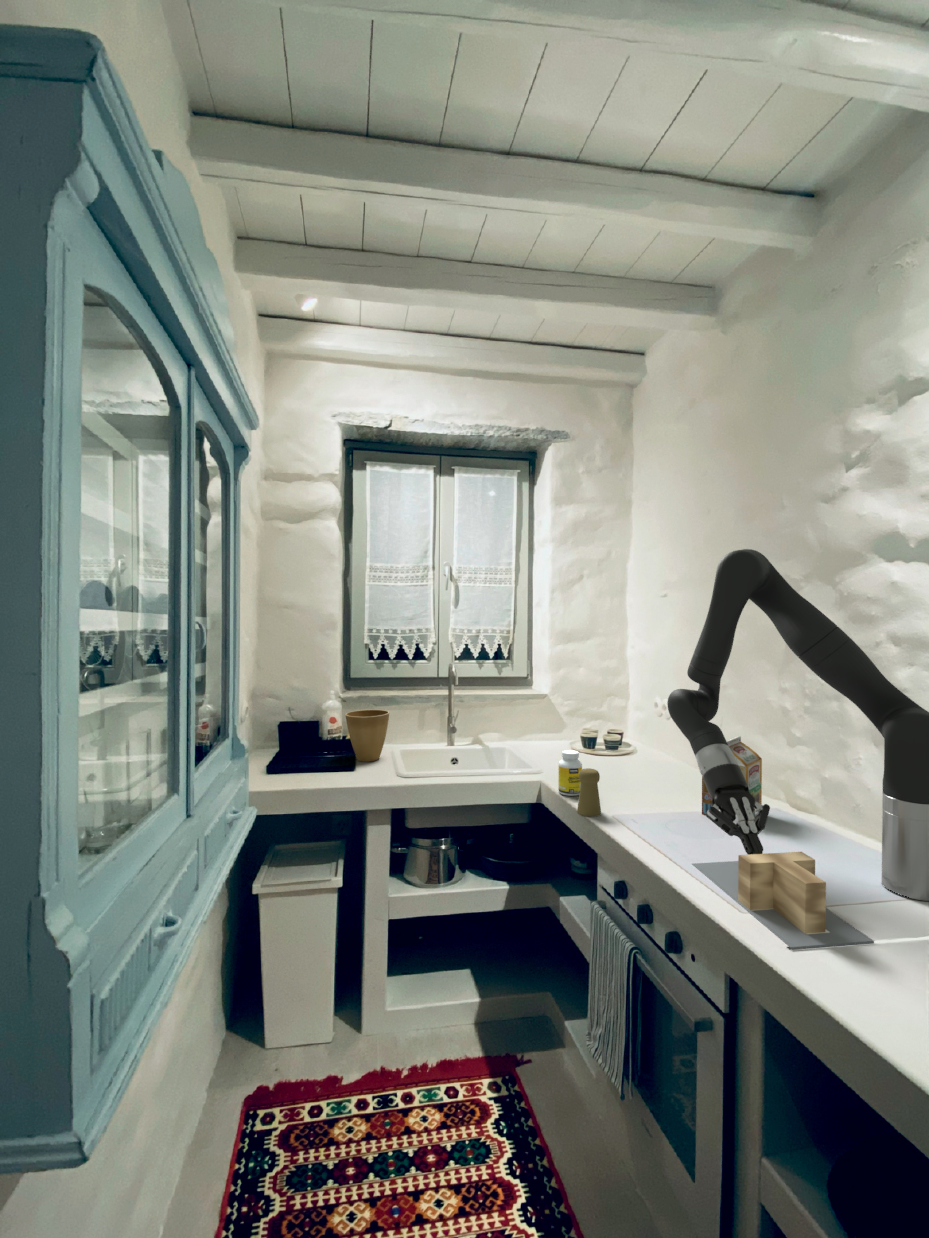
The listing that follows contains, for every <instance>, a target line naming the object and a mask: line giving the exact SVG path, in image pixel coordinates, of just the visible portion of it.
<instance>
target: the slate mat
mask: <svg viewBox="0 0 929 1238" xmlns="http://www.w3.org/2000/svg"><path fill="white" fill-rule="evenodd" d="M691 865H692V866H693V867H694V868H695V869H696V870H698V871H699V872H700V873H702V875H704V876H705V877H706V878H707V879H709V880H710V881H711V882H712V883H714V885H716V887H718V888H719V889H720V890H721V891H723V892H724V893H725V894H726V895H727V896H729V898H731V899H732V900H733V901H735V902H736V903H737V904H738V905H739V906H740V907H742V908H743V909H744V910H746V912H748V914H750V915H751V916H753V918H755V919H756V920H757V921H758V922H759V923H761V924H762V925H763V927H765V928H767V929H768V930H769V931H770V932H771V933H772V934H774V935H775V937H777V938H778V939H779V940H780V941H782V942H783V944H786V945H787V946H786V948H787V949H789V950H790V951H792V950H793V951H794V950H805V949H807V950H808V949H819V948H831V947H840V946H854V945H857V946H858V945H868V944H869V945H870V944H874V943H875V940H873V939H872V938H871V937H869V936H868V935H866V934H864V933H863V932H862V931H861V930H859V929H857V928H856V927H855V926H853V925H852V924H850V923H849V922H847V921H846V920H844V919H843V918H841V917H840V916H839V915H837V914H836V913H834V912H833V911H831V910H830V909H829V908H827V907H826V924H825V932H821V933H807V934H805V933H804V932H802V931H801V930H800V929H799V928H797V927H796V926H795V925H793V924H792V923H791V922H790V921H788V920H787V919H786V918H785V917H783V916H782V915H781V914H779V913H778V912H777V911H776V910H774V909H758V910H749V909H748V908H747V907H746V906H745V905H743V904H742V903H741V902H740V901H739V900H738V860H732V861H715V862H714V861H713V862H700V863H699V862H697V863H691Z"/></svg>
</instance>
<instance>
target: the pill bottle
mask: <svg viewBox="0 0 929 1238" xmlns="http://www.w3.org/2000/svg"><path fill="white" fill-rule="evenodd" d="M561 757H562V759H560V760H559V762H558V792H559V793H560V794H561V795H563V796H568V797H576V796H579V794H580V787H581V781H580V780H579V772H580V771H581V770H582V769H583V763H582V762H581V760H579V758H580V752H579V751H578V750H574V749H566V750H562V751H561Z"/></svg>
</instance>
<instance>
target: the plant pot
mask: <svg viewBox="0 0 929 1238" xmlns="http://www.w3.org/2000/svg"><path fill="white" fill-rule="evenodd" d="M389 718H390V711H388V710H385V709H384V710H383V709H360V710H354V711H353V710H352V711H349V712H347V713H345V721H346V726H347V732H348V735H349V739H350V742H351V746H352V749H353V752H354V755H355V754H356V755H355V757H356V759H357V761H360V762H367V763H368V762H374V761H378V760H379V759H380V757H381V754H382V752H383V748H384V744H385V741H386V738H387V732H388V728H389V727H388V725H389Z"/></svg>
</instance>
